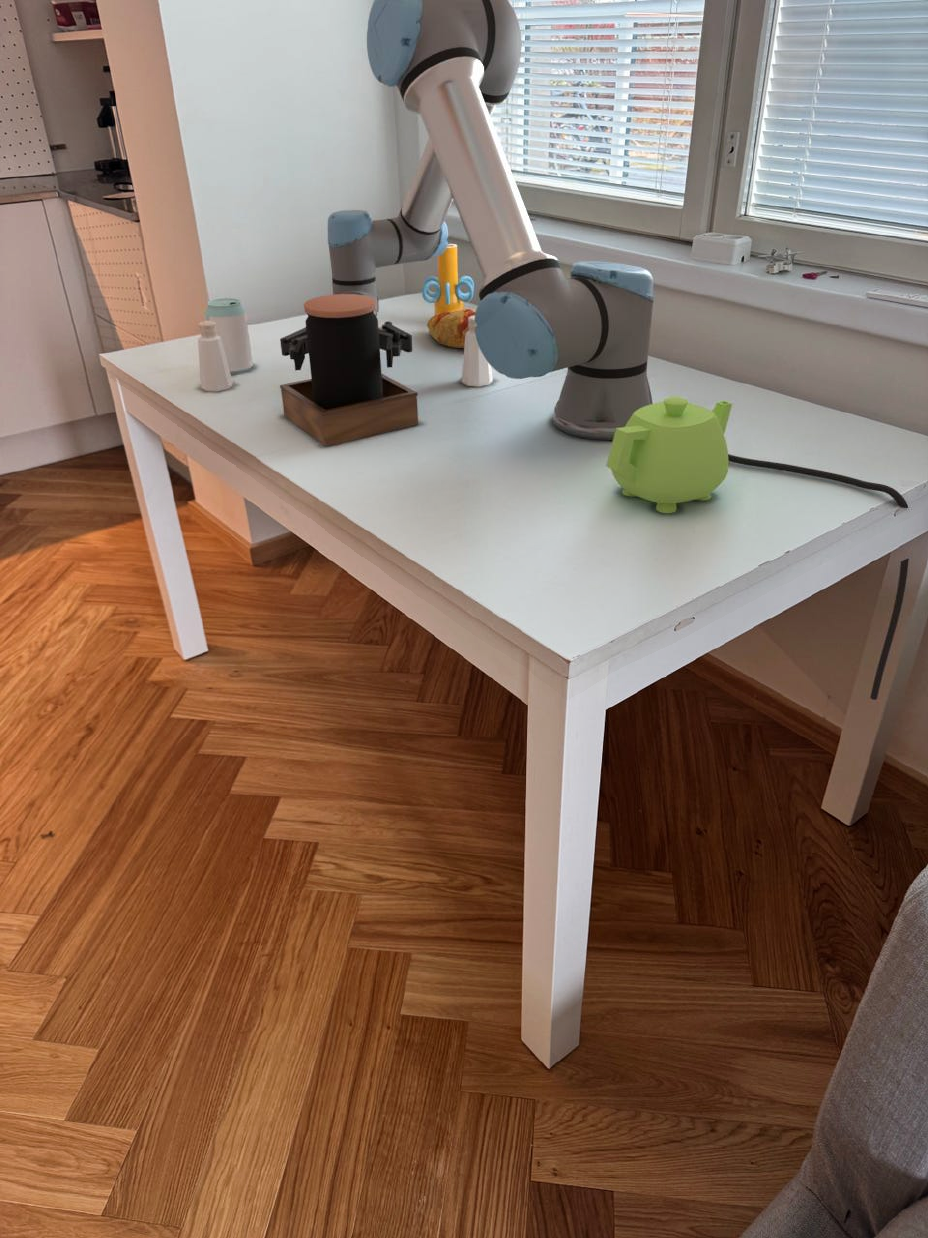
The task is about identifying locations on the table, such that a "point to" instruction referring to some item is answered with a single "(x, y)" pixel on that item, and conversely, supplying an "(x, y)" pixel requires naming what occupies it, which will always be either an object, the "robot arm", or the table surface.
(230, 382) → the salt shaker
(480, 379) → the pepper shaker
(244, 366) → the can
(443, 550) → the table surface
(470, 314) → the croissant
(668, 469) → the teapot
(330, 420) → the wooden tray
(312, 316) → the coffee jar
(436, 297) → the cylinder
